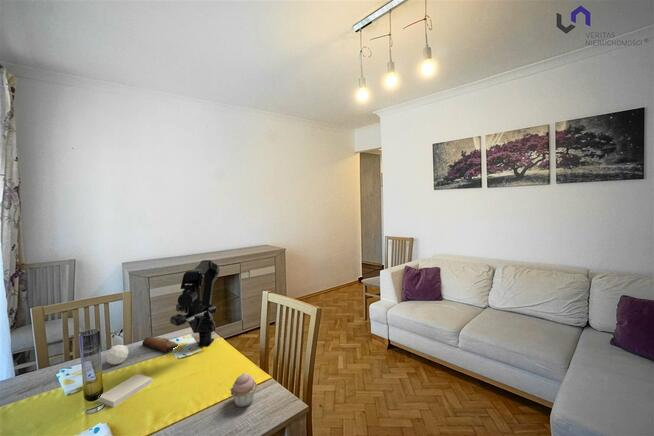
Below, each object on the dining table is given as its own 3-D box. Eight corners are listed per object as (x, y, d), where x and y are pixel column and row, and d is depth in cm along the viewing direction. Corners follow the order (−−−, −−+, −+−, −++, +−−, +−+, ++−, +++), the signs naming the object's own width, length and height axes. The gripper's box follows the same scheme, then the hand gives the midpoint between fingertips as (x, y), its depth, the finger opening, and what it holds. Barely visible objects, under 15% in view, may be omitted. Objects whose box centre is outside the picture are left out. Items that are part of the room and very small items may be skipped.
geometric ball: (112, 370, 120) (101, 355, 120) (131, 355, 126) (120, 342, 126) (114, 368, 115) (102, 353, 115) (134, 353, 121) (123, 339, 121)
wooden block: (137, 373, 110) (98, 396, 97) (152, 378, 108) (113, 402, 95) (138, 379, 111) (98, 402, 97) (152, 383, 108) (113, 408, 95)
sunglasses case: (182, 345, 136) (175, 337, 132) (171, 358, 130) (164, 350, 127) (158, 338, 143) (151, 330, 140) (147, 350, 138) (139, 342, 135)
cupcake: (258, 390, 103) (258, 364, 103) (256, 408, 94) (256, 380, 94) (232, 393, 102) (232, 367, 101) (227, 412, 93) (227, 383, 92)
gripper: (202, 290, 135) (203, 321, 136) (163, 301, 119) (164, 336, 120) (216, 294, 129) (217, 326, 130) (176, 306, 113) (177, 343, 114)
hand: (194, 332), depth 124 cm, fingers closed
